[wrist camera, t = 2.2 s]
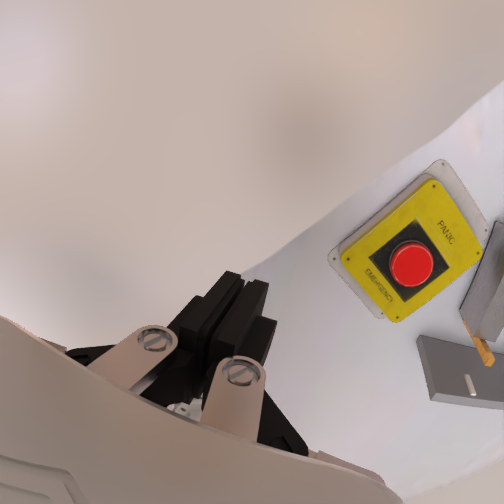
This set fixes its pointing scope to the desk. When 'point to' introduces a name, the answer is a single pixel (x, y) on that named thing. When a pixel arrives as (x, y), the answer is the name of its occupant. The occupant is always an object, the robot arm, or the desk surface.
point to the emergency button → (413, 245)
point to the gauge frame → (461, 374)
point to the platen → (487, 297)
